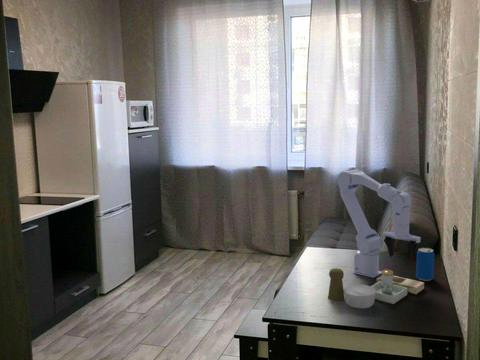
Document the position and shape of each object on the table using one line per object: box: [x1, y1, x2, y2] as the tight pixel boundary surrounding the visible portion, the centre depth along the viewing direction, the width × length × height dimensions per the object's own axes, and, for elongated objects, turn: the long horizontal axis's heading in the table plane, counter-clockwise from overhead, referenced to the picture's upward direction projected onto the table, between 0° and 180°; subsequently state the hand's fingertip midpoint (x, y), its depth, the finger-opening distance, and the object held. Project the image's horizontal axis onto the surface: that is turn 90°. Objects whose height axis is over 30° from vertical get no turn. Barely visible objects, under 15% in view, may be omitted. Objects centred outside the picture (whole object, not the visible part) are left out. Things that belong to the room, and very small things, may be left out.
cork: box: [327, 268, 346, 302], centre depth 188 cm, size 6×6×11 cm
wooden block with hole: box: [376, 274, 425, 295], centre depth 198 cm, size 16×7×2 cm, turn 48°
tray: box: [370, 281, 408, 305], centre depth 190 cm, size 11×11×3 cm
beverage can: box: [415, 247, 435, 282], centre depth 205 cm, size 6×6×12 cm
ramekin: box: [343, 283, 376, 309], centre depth 183 cm, size 11×11×5 cm
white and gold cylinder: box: [381, 269, 394, 295], centre depth 190 cm, size 4×4×8 cm
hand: (400, 257), depth 201 cm, fingers open, 7 cm apart
